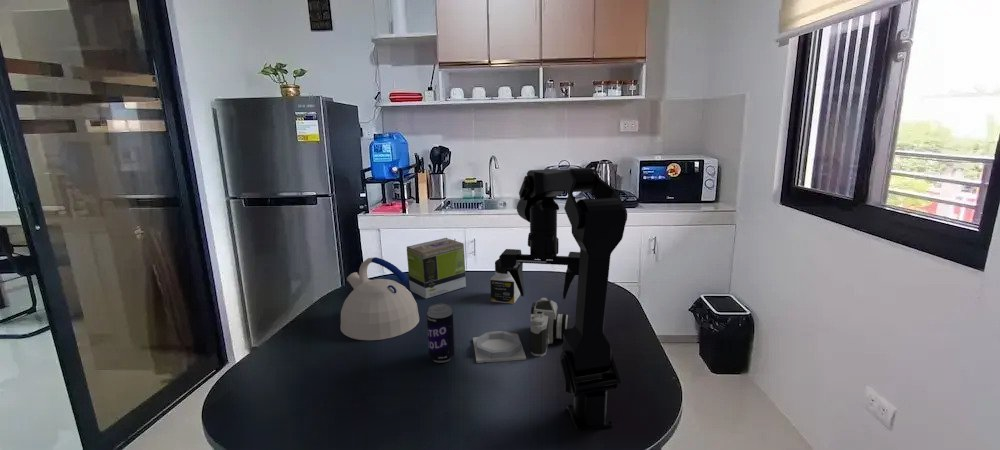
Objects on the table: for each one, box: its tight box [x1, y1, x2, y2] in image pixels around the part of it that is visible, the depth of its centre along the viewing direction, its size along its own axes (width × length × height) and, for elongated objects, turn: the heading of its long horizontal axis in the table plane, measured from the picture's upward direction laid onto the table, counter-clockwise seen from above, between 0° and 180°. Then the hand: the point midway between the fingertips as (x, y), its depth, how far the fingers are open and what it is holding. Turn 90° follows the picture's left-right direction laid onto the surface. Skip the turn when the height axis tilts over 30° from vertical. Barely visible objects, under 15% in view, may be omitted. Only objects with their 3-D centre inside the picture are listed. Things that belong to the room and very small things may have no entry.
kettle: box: [340, 257, 420, 341], centre depth 119 cm, size 20×21×18 cm
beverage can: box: [426, 303, 455, 364], centre depth 102 cm, size 6×6×12 cm
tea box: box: [406, 237, 467, 300], centre depth 143 cm, size 15×10×15 cm
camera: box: [529, 297, 569, 357], centre depth 109 cm, size 16×9×10 cm, turn 168°
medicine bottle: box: [490, 258, 521, 305], centre depth 135 cm, size 7×7×12 cm
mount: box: [472, 330, 527, 364], centre depth 106 cm, size 11×11×2 cm
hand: (543, 297), depth 101 cm, fingers open, 9 cm apart
